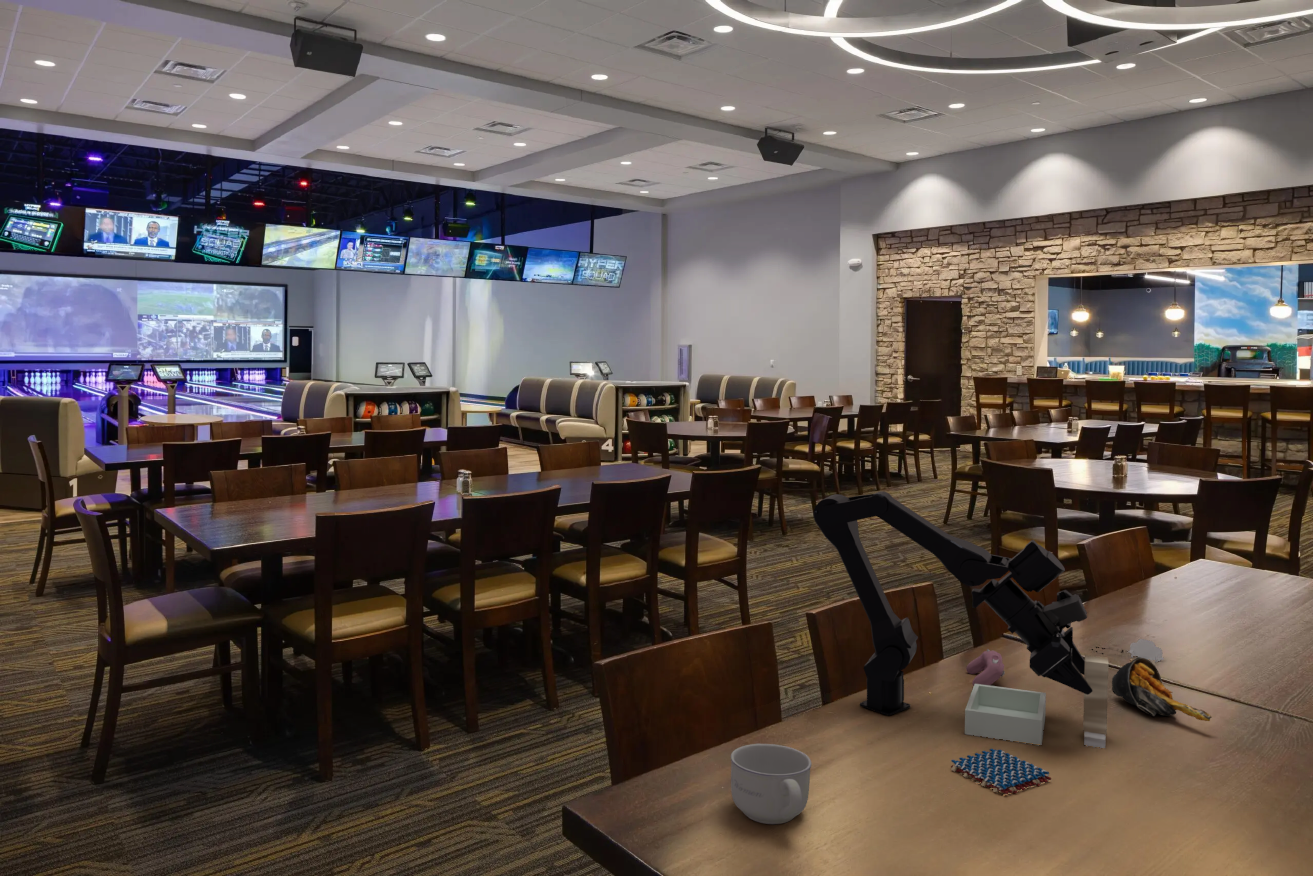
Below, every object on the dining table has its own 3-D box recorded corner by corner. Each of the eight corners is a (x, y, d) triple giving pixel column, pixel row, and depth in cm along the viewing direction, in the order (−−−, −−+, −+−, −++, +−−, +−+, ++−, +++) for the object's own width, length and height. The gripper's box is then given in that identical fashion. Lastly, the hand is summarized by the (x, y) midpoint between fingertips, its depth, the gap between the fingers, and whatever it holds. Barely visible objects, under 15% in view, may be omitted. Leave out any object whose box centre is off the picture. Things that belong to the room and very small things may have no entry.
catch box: (1041, 746, 145) (1041, 720, 144) (964, 734, 150) (965, 709, 149) (1045, 716, 157) (1045, 692, 156) (974, 706, 162) (974, 683, 161)
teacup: (725, 797, 129) (724, 742, 128) (800, 793, 130) (800, 738, 129) (742, 848, 115) (742, 787, 114) (827, 843, 116) (827, 782, 115)
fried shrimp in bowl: (1134, 666, 168) (1230, 661, 153) (1134, 727, 164) (1233, 728, 149) (1098, 653, 165) (1193, 646, 150) (1098, 715, 161) (1195, 715, 145)
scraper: (1106, 749, 143) (1108, 668, 142) (1082, 745, 145) (1084, 665, 144) (1106, 730, 150) (1107, 653, 149) (1083, 727, 152) (1085, 651, 151)
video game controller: (993, 698, 170) (1012, 666, 169) (970, 686, 170) (988, 654, 169) (985, 680, 179) (1002, 650, 178) (963, 669, 180) (980, 639, 179)
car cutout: (1170, 661, 186) (1170, 639, 186) (1158, 668, 182) (1158, 646, 182) (1094, 645, 197) (1095, 625, 197) (1081, 652, 193) (1082, 631, 193)
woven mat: (1004, 802, 127) (1004, 788, 127) (947, 773, 137) (947, 760, 136) (1055, 785, 132) (1055, 772, 132) (997, 758, 141) (997, 745, 141)
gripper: (1053, 591, 140) (1133, 670, 136) (1056, 567, 157) (1127, 636, 153) (998, 636, 144) (1074, 715, 140) (1007, 608, 160) (1075, 677, 157)
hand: (1090, 683), depth 147 cm, fingers open, 9 cm apart
